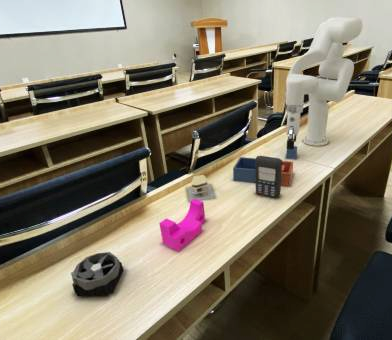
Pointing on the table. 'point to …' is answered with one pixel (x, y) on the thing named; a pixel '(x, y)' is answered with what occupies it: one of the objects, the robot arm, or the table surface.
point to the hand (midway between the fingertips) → (291, 144)
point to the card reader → (268, 176)
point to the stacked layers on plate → (200, 189)
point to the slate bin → (244, 170)
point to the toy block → (183, 227)
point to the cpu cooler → (97, 275)
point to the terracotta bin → (287, 173)
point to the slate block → (291, 153)
